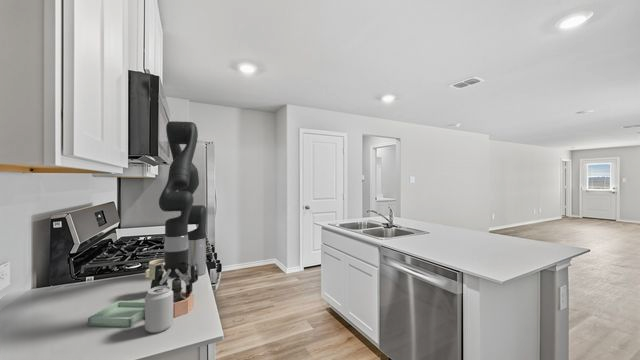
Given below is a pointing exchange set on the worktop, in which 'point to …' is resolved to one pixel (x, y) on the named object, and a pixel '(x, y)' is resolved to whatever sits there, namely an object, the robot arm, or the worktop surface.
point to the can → (158, 309)
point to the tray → (119, 314)
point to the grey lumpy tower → (177, 290)
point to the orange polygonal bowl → (183, 305)
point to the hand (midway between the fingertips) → (176, 294)
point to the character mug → (152, 271)
